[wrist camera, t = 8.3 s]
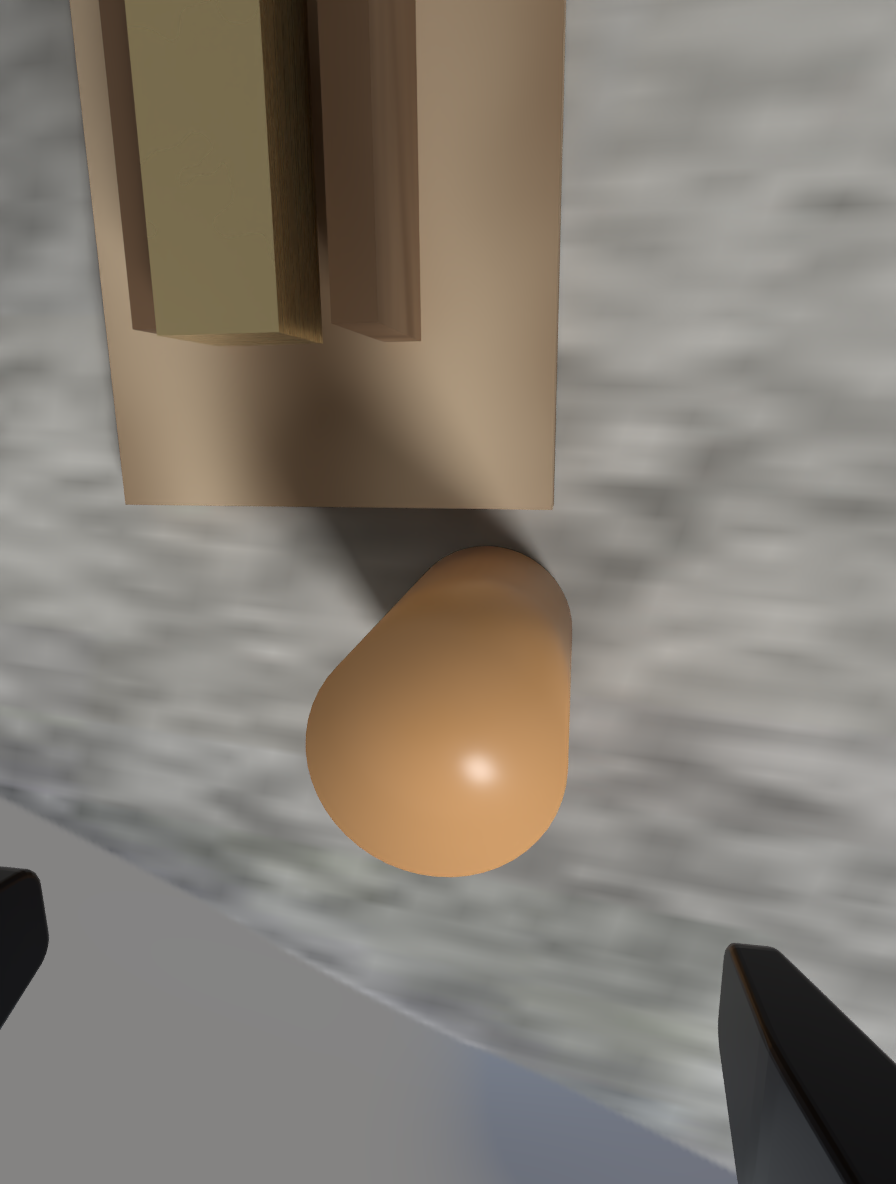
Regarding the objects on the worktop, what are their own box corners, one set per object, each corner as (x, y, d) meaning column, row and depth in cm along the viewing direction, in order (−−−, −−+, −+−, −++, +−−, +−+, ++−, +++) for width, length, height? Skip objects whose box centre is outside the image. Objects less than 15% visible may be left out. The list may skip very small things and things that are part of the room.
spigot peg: (574, 547, 17) (572, 637, 10) (569, 710, 18) (563, 889, 11) (404, 544, 18) (298, 625, 11) (408, 701, 19) (312, 864, 12)
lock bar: (293, -296, 11) (232, -445, 9) (322, 343, 13) (278, 332, 11) (167, -274, 11) (84, -412, 9) (217, 346, 13) (156, 335, 12)
